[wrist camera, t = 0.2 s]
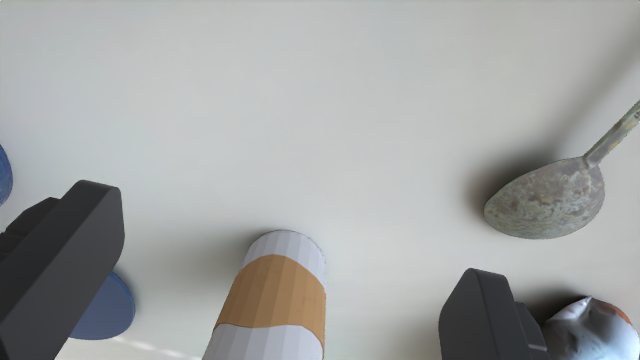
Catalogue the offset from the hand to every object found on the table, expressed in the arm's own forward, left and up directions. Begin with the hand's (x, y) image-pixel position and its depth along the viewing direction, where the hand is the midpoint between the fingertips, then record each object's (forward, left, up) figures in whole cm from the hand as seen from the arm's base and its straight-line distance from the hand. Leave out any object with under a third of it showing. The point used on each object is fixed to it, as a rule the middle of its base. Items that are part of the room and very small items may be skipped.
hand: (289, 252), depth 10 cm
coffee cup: (+19, 0, -17) cm, 26 cm away
